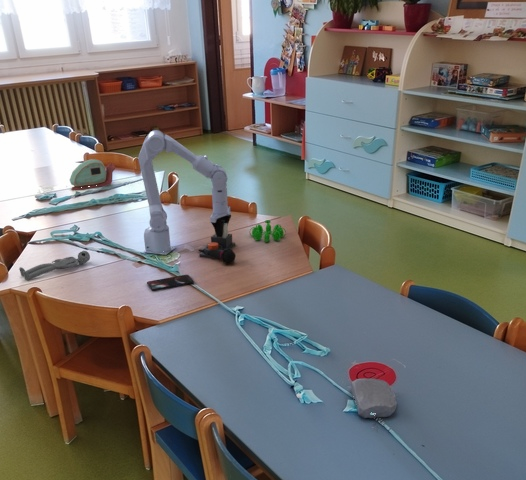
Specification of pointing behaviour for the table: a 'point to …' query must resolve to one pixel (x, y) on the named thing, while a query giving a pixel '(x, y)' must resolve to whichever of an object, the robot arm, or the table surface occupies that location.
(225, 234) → the block
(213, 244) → the power button
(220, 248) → the adapter
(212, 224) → the robot arm
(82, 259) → the alien figure
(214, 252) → the microphone
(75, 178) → the toy snail
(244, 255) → the table surface
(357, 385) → the stone block
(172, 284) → the smartphone
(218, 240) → the socket
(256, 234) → the chandelier
